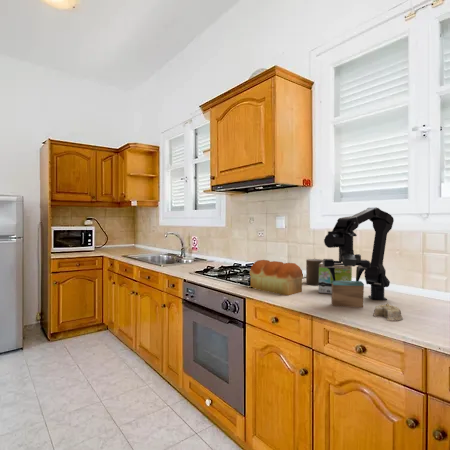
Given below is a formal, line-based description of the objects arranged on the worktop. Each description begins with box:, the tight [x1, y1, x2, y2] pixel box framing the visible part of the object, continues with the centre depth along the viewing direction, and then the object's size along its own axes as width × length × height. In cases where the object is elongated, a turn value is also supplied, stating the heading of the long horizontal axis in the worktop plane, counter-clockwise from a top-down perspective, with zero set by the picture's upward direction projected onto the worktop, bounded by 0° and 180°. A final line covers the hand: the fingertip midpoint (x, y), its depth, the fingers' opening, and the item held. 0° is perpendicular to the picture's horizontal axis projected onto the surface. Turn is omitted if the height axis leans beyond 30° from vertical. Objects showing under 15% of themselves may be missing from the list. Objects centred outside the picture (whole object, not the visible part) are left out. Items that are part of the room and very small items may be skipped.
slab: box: [330, 280, 365, 308], centre depth 135 cm, size 4×12×10 cm, turn 82°
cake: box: [372, 303, 404, 322], centre depth 120 cm, size 10×10×5 cm
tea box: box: [317, 262, 353, 295], centre depth 161 cm, size 15×10×15 cm
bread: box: [249, 259, 304, 296], centre depth 166 cm, size 25×12×15 cm, turn 44°
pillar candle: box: [305, 258, 323, 286], centre depth 183 cm, size 10×10×15 cm
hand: (345, 283), depth 138 cm, fingers open, 9 cm apart
